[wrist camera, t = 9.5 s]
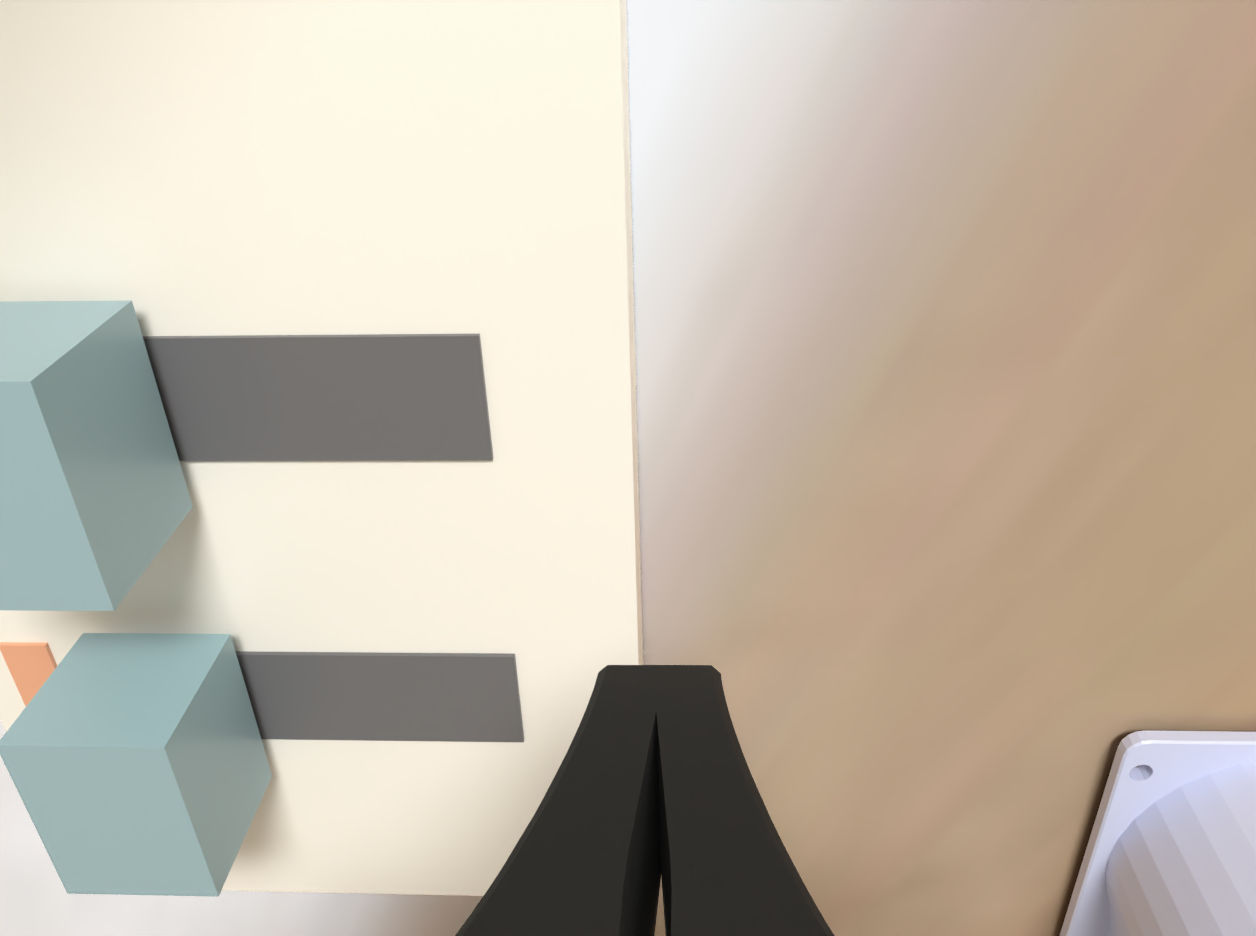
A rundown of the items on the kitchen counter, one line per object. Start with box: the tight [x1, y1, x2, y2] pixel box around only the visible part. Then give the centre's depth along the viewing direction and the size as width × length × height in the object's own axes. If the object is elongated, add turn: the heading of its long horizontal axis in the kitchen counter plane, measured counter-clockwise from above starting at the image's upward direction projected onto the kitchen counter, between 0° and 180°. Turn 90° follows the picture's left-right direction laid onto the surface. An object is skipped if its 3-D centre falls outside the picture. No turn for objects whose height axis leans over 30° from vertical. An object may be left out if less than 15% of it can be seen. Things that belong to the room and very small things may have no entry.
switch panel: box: [0, 0, 643, 896], centre depth 20 cm, size 20×14×2 cm
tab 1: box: [0, 300, 193, 611], centre depth 16 cm, size 4×3×3 cm
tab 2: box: [0, 633, 272, 896], centre depth 20 cm, size 4×3×3 cm
